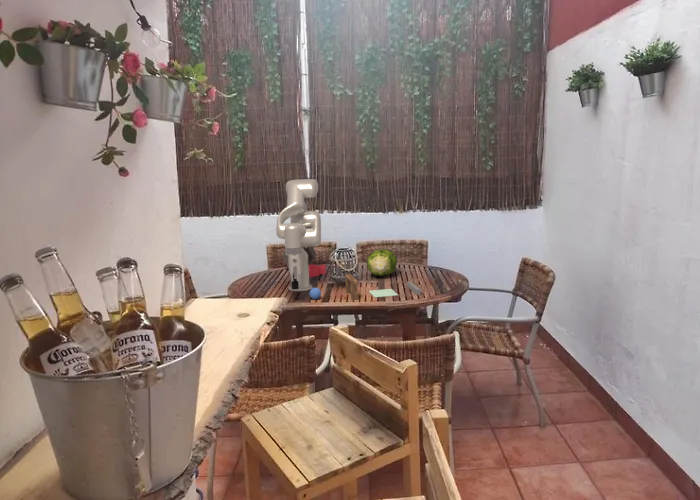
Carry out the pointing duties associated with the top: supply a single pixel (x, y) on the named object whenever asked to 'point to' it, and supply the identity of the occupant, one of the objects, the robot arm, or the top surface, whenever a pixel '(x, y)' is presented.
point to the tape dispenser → (316, 270)
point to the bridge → (351, 286)
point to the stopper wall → (414, 288)
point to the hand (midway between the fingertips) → (295, 288)
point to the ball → (315, 293)
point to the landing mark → (383, 293)
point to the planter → (309, 251)
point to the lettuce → (382, 262)
